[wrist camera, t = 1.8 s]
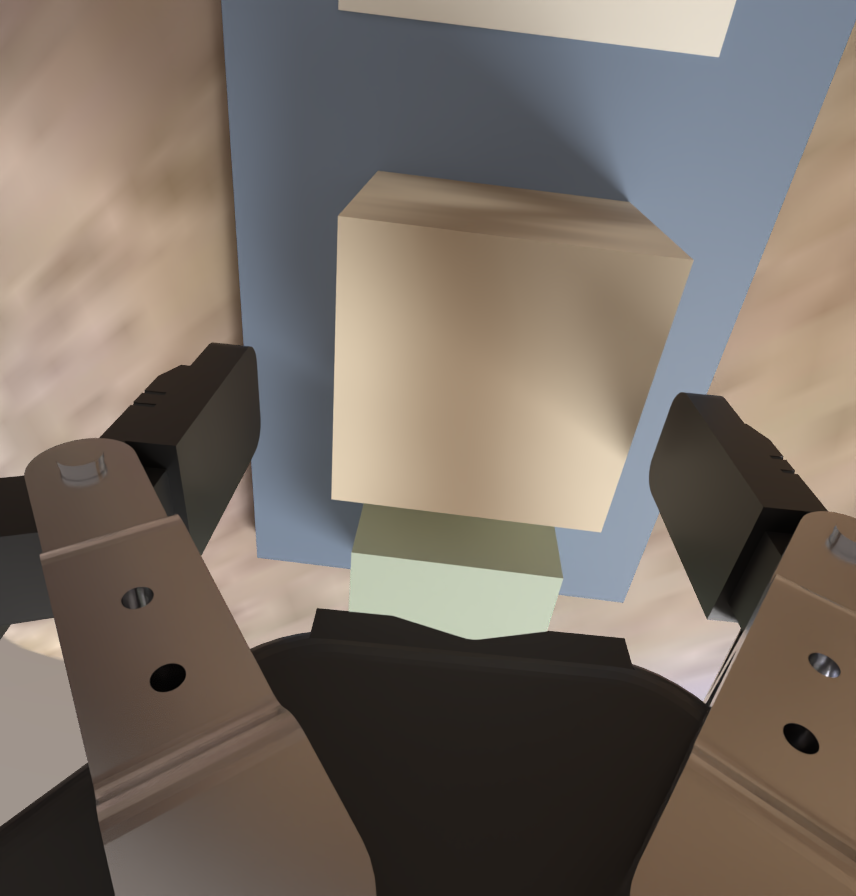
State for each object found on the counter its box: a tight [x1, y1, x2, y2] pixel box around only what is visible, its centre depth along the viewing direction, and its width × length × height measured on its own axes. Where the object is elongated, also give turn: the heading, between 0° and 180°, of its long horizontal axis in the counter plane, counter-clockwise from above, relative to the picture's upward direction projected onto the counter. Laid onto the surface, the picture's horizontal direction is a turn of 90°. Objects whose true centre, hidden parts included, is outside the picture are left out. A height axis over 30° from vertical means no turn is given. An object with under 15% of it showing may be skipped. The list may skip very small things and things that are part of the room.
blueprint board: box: [221, 0, 856, 603], centre depth 15 cm, size 13×26×1 cm, turn 174°
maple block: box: [331, 171, 694, 532], centre depth 14 cm, size 6×6×5 cm
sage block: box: [349, 503, 563, 640], centre depth 18 cm, size 5×5×5 cm
